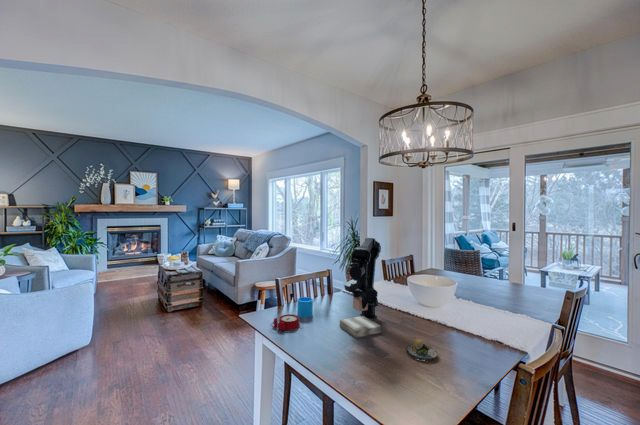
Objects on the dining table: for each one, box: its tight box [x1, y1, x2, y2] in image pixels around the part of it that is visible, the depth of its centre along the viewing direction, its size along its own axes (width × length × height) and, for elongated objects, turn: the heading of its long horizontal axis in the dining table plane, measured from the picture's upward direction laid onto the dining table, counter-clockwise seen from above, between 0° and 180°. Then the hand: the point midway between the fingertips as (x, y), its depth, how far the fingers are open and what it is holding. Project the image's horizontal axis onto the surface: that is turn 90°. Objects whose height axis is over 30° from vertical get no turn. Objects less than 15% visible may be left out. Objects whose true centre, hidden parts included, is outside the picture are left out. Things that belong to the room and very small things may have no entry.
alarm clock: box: [270, 314, 302, 332], centre depth 140 cm, size 10×6×15 cm
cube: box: [352, 296, 368, 312], centre depth 139 cm, size 5×5×5 cm
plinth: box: [339, 315, 382, 339], centre depth 139 cm, size 14×14×3 cm
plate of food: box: [405, 336, 438, 361], centre depth 116 cm, size 12×12×8 cm
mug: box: [296, 296, 314, 318], centre depth 158 cm, size 12×8×8 cm
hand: (360, 306), depth 139 cm, fingers closed on cube, 5 cm apart
